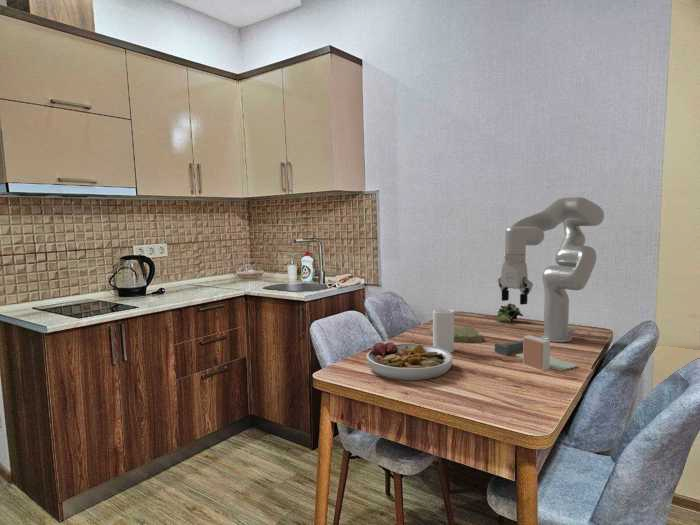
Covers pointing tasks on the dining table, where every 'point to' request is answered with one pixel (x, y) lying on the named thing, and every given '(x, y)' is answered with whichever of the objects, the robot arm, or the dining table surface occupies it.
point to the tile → (536, 352)
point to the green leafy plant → (508, 312)
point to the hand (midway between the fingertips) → (514, 302)
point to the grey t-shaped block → (509, 347)
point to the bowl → (408, 361)
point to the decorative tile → (464, 334)
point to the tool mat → (556, 363)
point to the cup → (443, 329)
